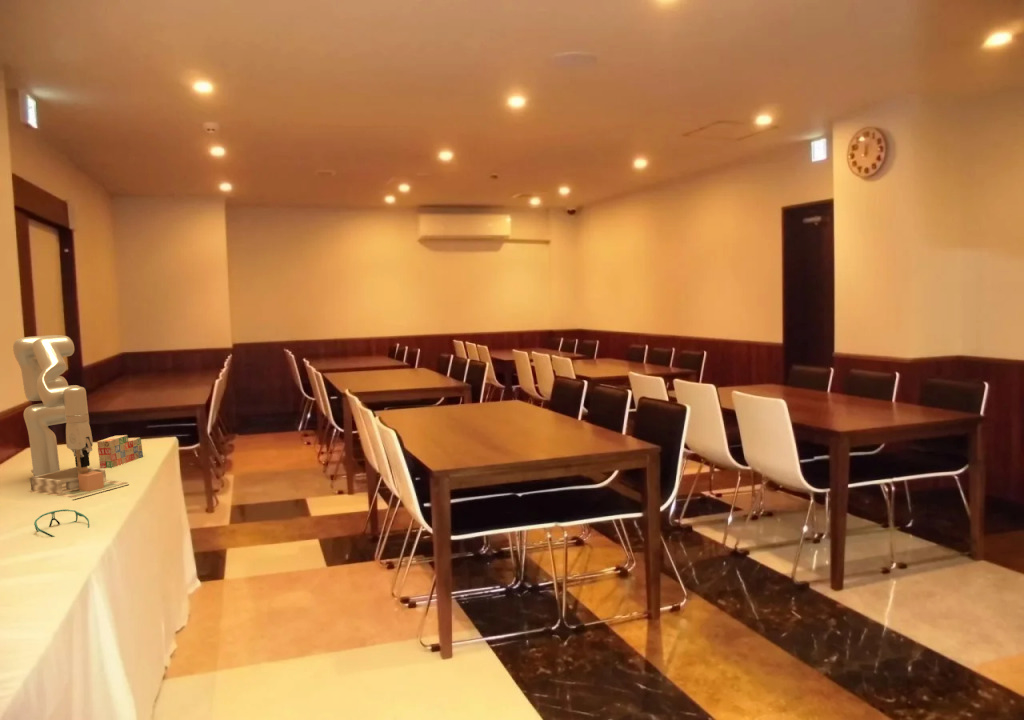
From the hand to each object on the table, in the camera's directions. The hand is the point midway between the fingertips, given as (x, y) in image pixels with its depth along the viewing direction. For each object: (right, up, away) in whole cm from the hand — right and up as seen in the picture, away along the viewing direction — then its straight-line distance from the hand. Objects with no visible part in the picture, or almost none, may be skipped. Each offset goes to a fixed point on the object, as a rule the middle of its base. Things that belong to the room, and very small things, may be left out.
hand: (82, 465), depth 291 cm
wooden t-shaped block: (0, -8, 0) cm, 8 cm away
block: (+4, -9, -2) cm, 10 cm away
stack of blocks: (-12, -6, +52) cm, 54 cm away
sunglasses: (+22, -14, -49) cm, 56 cm away
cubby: (-3, -10, +3) cm, 11 cm away
